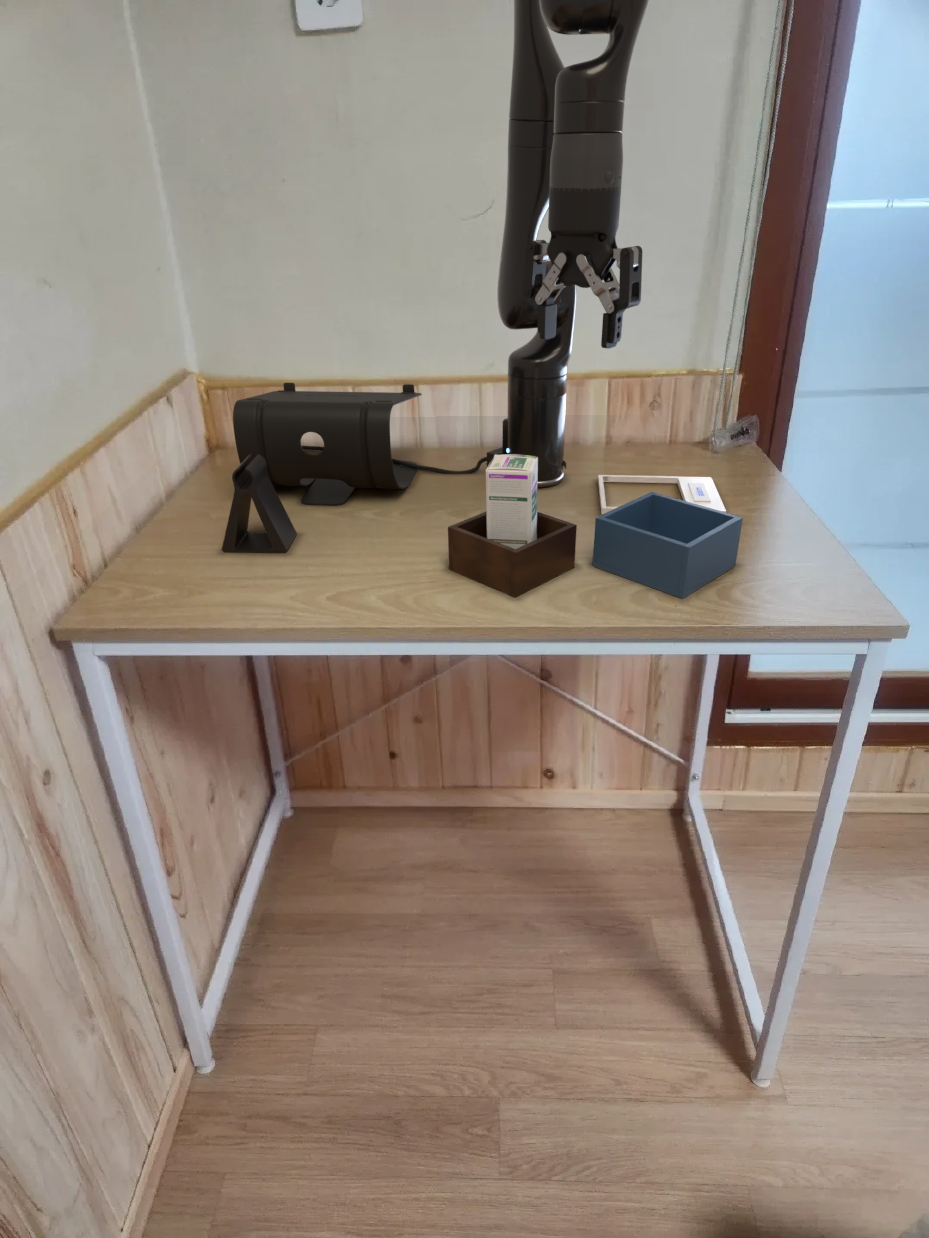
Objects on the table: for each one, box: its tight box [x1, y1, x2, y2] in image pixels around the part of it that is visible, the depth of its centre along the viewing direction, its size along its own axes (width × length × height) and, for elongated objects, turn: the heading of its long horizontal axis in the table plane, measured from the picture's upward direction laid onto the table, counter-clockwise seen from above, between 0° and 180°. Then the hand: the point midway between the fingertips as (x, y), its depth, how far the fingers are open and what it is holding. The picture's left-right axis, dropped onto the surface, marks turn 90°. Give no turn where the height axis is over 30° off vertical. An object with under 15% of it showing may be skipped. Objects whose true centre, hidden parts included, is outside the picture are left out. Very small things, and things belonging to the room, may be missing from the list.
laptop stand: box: [232, 382, 422, 506], centre depth 136 cm, size 26×24×16 cm
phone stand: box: [221, 454, 298, 554], centre depth 115 cm, size 9×6×12 cm, turn 86°
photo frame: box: [597, 474, 727, 515], centre depth 131 cm, size 15×1×18 cm
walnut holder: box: [447, 511, 578, 598], centre depth 108 cm, size 12×12×6 cm
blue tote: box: [591, 491, 744, 600], centre depth 108 cm, size 14×13×7 cm
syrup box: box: [485, 454, 539, 549], centre depth 106 cm, size 6×6×14 cm
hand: (577, 342), depth 97 cm, fingers open, 8 cm apart
